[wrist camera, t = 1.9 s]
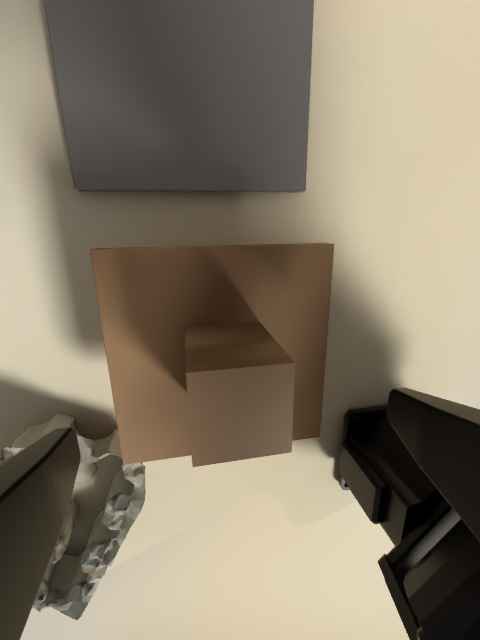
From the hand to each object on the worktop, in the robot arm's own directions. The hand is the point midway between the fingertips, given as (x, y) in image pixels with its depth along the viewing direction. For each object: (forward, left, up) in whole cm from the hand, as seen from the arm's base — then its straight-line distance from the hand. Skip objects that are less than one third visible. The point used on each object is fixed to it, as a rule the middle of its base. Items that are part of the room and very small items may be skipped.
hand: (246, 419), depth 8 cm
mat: (+1, -12, -9) cm, 15 cm away
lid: (0, 0, -5) cm, 5 cm away
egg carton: (+9, +10, -10) cm, 17 cm away
